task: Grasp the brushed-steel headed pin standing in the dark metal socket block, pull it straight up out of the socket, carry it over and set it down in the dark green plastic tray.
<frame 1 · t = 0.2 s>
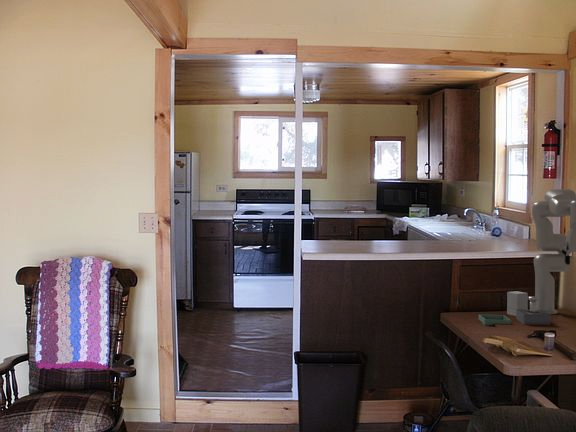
pin: (532, 322, 269), point 1 cm above the table, touching socket block
tray: (494, 322, 271), on the table
socket block: (532, 324, 269), on the table
supplement box: (517, 316, 287), on the table
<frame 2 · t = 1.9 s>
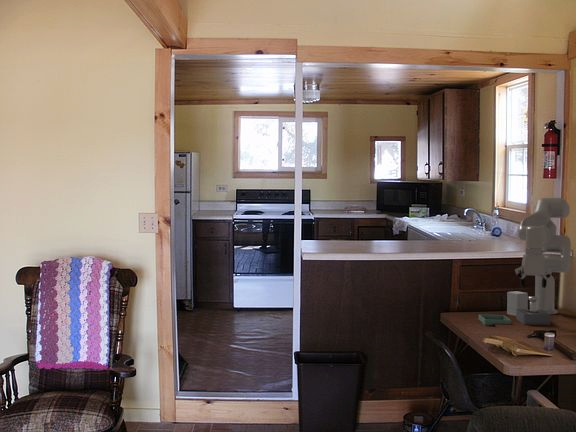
hand: (533, 287, 268), 18 cm above the table, fingers open, 9 cm apart
nothing on the table moved.
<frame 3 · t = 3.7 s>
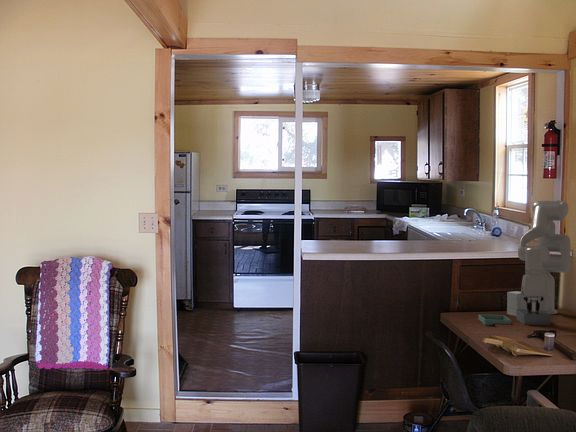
hand: (533, 310, 269), 7 cm above the table, fingers closed on pin, 3 cm apart
pin: (532, 322, 269), point 1 cm above the table, touching gripper, socket block
everything else where it was.
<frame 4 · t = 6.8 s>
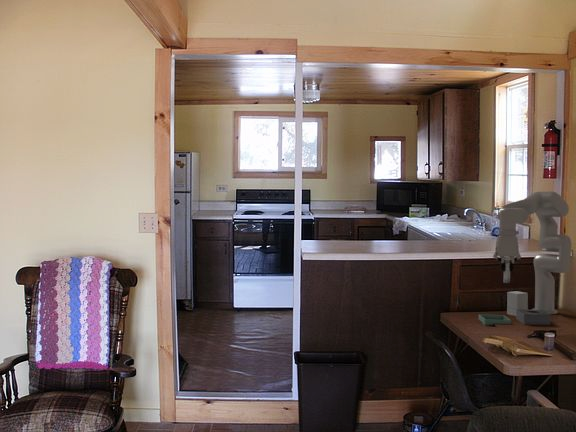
hand: (506, 270, 270), 26 cm above the table, fingers closed on pin, 3 cm apart
pin: (506, 282, 270), point 20 cm above the table, touching gripper
everything else where it was.
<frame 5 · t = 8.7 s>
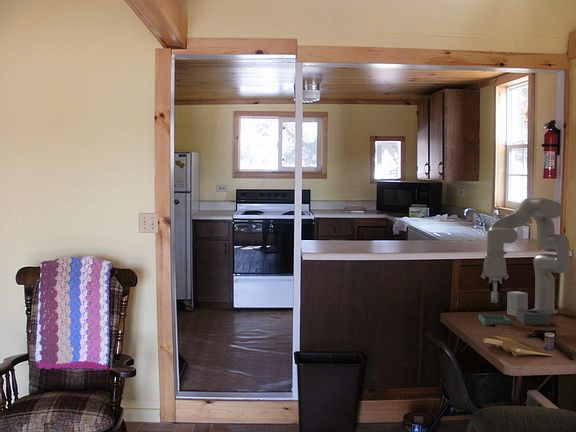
hand: (494, 290, 271), 16 cm above the table, fingers closed on pin, 3 cm apart
pin: (494, 302, 271), point 10 cm above the table, touching gripper
everything else where it was.
when the fingers open (7 cm above the table, at t = 10.2 s): pin drops 1 cm, resting on tray.
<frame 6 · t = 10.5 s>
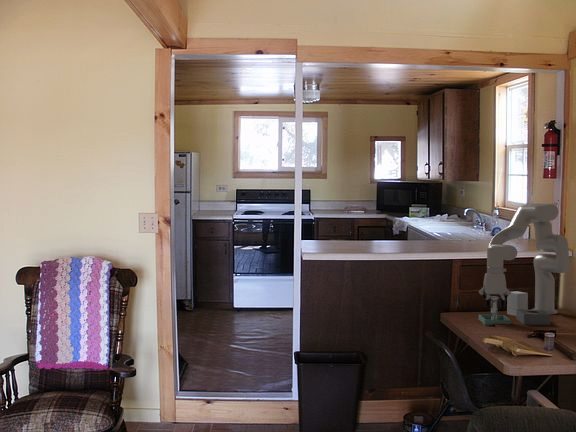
hand: (494, 307, 271), 8 cm above the table, fingers open, 5 cm apart
pin: (493, 321, 271), point 1 cm above the table, touching tray
everything else where it was.
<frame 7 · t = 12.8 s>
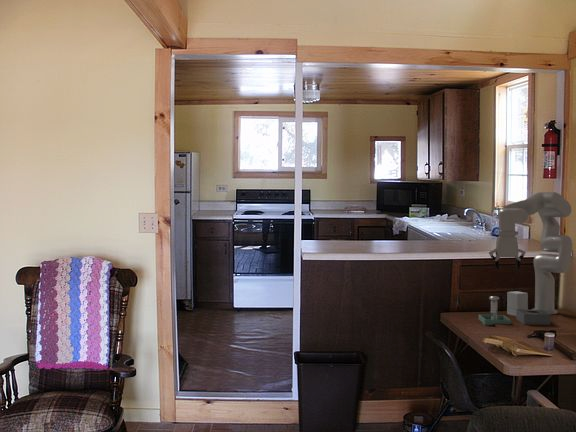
hand: (507, 268, 274), 26 cm above the table, fingers open, 9 cm apart
nothing on the table moved.
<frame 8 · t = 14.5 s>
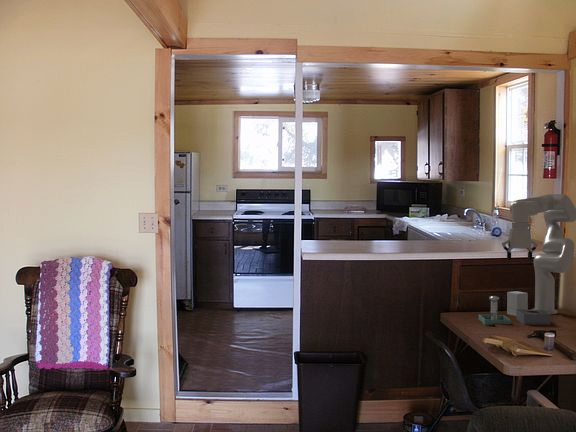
hand: (519, 259, 277), 30 cm above the table, fingers open, 9 cm apart
nothing on the table moved.
at the end: pin inside the target area on the tray (0.2 cm from its centre), point 0.6 cm above the tray's base; the gripper is holding nothing; pin touching tray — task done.
